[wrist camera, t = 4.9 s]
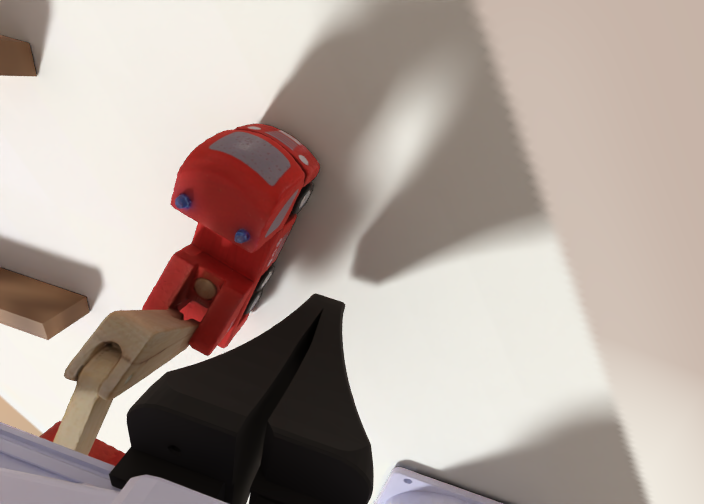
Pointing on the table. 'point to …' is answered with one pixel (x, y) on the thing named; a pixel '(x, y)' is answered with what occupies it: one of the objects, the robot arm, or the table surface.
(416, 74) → the table surface
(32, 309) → the bay
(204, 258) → the toy fire truck
